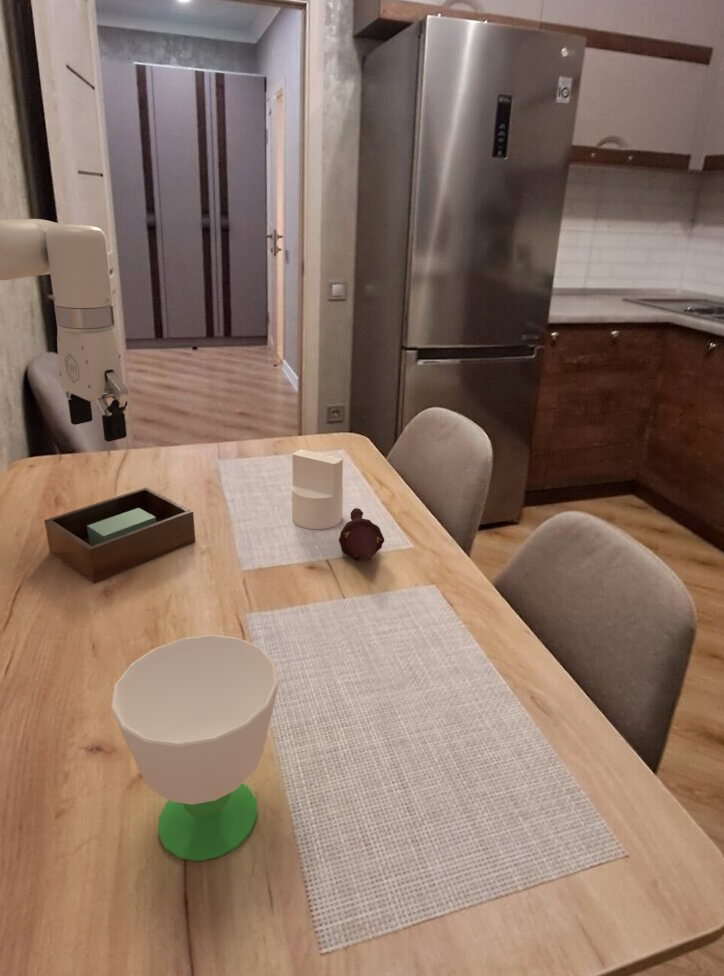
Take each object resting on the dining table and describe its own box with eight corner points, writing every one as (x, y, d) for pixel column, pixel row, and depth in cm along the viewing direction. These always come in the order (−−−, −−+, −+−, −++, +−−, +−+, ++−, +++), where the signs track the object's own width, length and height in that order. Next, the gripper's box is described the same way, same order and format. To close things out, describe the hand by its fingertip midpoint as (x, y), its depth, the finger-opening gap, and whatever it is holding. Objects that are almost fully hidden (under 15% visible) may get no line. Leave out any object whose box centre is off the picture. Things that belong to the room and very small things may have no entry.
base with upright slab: (351, 513, 123) (352, 453, 119) (326, 533, 116) (326, 470, 111) (309, 503, 126) (309, 443, 122) (282, 521, 119) (281, 459, 114)
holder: (49, 551, 106) (44, 520, 104) (149, 515, 119) (146, 487, 116) (94, 583, 98) (89, 550, 96) (195, 541, 111) (193, 511, 109)
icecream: (399, 542, 101) (378, 507, 115) (352, 534, 99) (337, 499, 113) (386, 583, 103) (368, 543, 116) (340, 575, 100) (327, 536, 114)
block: (89, 547, 106) (86, 525, 105) (141, 528, 113) (138, 507, 111) (106, 558, 103) (103, 536, 102) (158, 538, 110) (155, 517, 108)
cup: (153, 761, 69) (138, 633, 62) (288, 758, 70) (285, 633, 64) (109, 889, 56) (84, 746, 50) (274, 884, 57) (269, 743, 51)
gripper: (29, 310, 97) (46, 421, 103) (91, 330, 87) (105, 452, 94) (80, 305, 102) (92, 412, 109) (143, 324, 93) (153, 440, 99)
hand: (98, 430), depth 101 cm, fingers open, 9 cm apart
